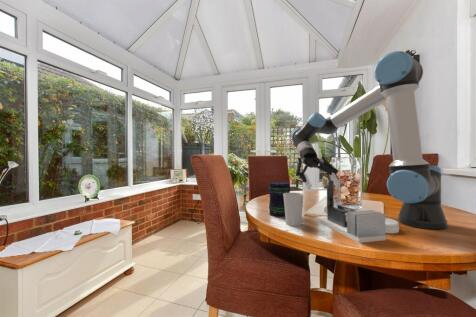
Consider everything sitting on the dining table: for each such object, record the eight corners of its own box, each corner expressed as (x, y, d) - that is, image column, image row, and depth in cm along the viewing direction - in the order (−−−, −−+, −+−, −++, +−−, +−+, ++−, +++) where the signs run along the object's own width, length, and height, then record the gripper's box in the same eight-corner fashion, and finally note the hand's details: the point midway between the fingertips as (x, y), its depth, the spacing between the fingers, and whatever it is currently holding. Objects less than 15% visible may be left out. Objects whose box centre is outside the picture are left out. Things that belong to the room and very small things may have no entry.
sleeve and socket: (322, 220, 92) (322, 202, 92) (344, 218, 94) (344, 201, 94) (358, 237, 72) (358, 215, 72) (385, 235, 74) (385, 213, 74)
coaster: (364, 230, 84) (364, 220, 84) (370, 223, 92) (370, 215, 92) (397, 236, 78) (397, 226, 78) (400, 228, 85) (400, 219, 85)
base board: (315, 220, 97) (315, 216, 97) (336, 218, 99) (336, 215, 99) (358, 242, 72) (358, 238, 72) (385, 240, 74) (385, 235, 74)
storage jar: (290, 217, 101) (289, 184, 101) (268, 216, 104) (267, 183, 103) (290, 212, 111) (290, 181, 111) (270, 211, 113) (269, 181, 113)
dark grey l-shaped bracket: (324, 213, 96) (323, 180, 96) (331, 213, 97) (330, 180, 97) (349, 225, 81) (349, 185, 81) (357, 224, 81) (357, 184, 81)
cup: (304, 227, 88) (304, 196, 88) (283, 226, 89) (283, 195, 89) (302, 221, 96) (302, 192, 96) (283, 220, 97) (283, 192, 97)
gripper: (326, 157, 117) (346, 190, 103) (280, 158, 112) (294, 193, 98) (332, 146, 112) (354, 180, 98) (285, 146, 107) (300, 182, 93)
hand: (324, 186), depth 98 cm, fingers open, 13 cm apart
